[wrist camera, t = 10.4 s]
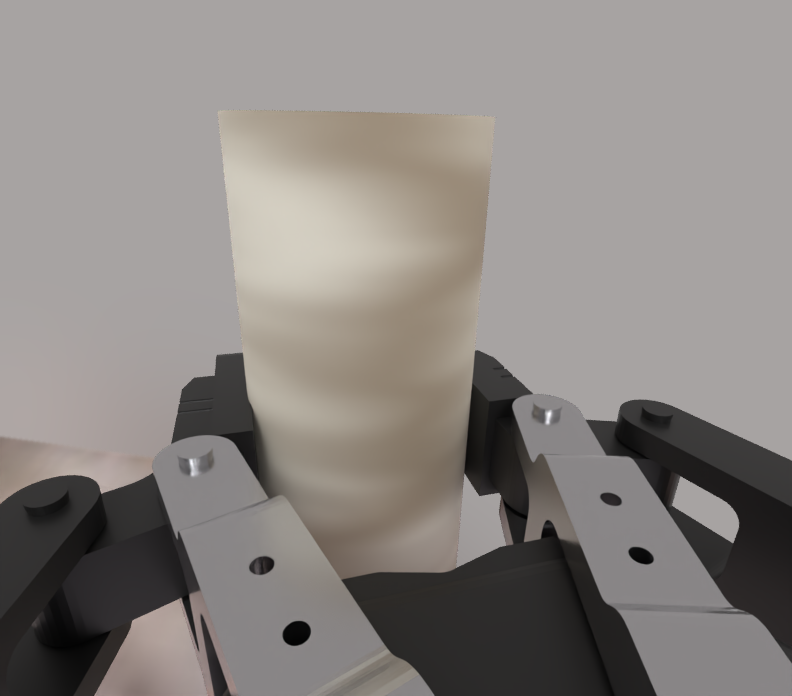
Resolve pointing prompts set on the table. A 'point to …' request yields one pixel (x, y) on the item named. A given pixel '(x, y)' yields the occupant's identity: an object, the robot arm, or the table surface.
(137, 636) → the table surface
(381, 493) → the beige tall cylinder
